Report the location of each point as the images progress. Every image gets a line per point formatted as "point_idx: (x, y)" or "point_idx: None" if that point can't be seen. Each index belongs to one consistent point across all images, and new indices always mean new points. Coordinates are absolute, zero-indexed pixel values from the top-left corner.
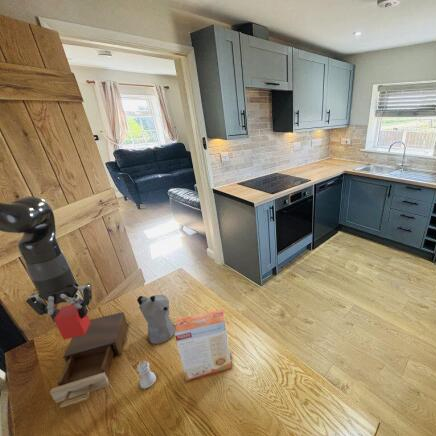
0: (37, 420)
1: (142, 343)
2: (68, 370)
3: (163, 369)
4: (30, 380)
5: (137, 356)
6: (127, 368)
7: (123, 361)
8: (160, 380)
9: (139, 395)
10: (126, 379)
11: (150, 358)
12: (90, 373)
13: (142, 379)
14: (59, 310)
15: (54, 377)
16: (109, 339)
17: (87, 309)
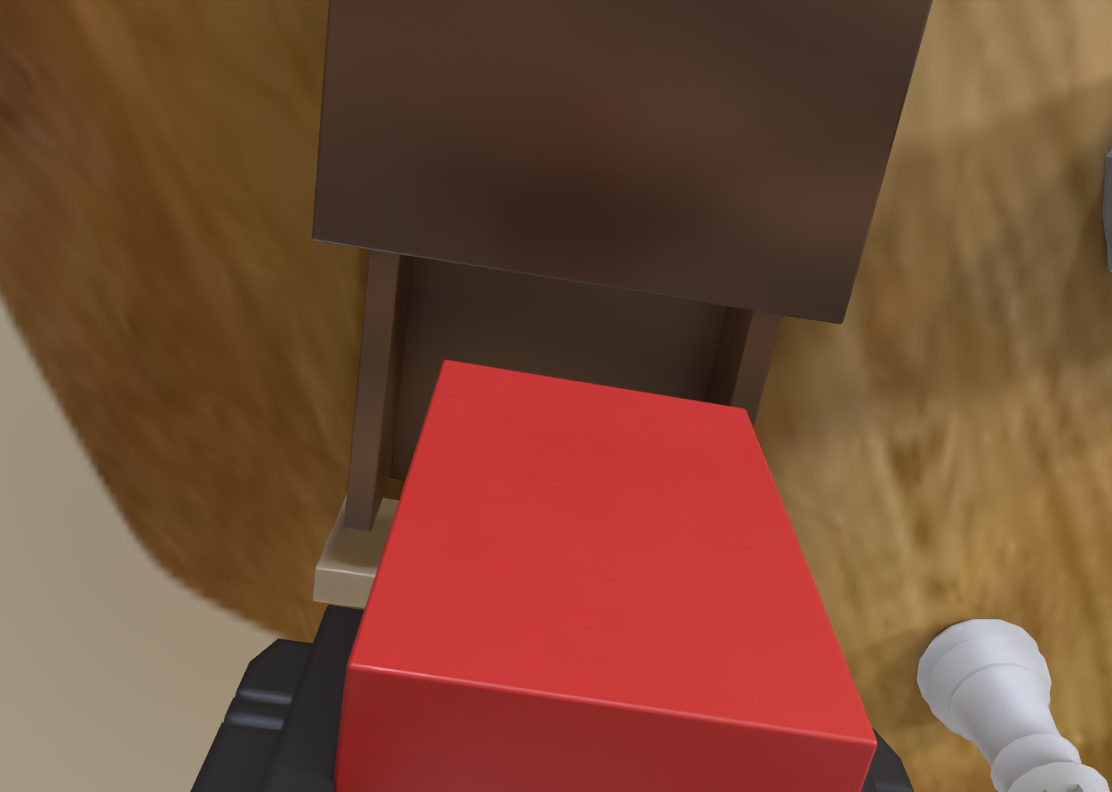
0: (251, 560)
1: (1022, 211)
2: (393, 375)
3: (1105, 616)
4: (29, 112)
5: (944, 362)
6: (844, 451)
7: (820, 352)
8: (1055, 693)
9: (894, 727)
10: (825, 554)
11: (1043, 450)
12: None
13: (974, 743)
14: (337, 789)
15: (240, 200)
16: (794, 246)
17: (913, 790)
